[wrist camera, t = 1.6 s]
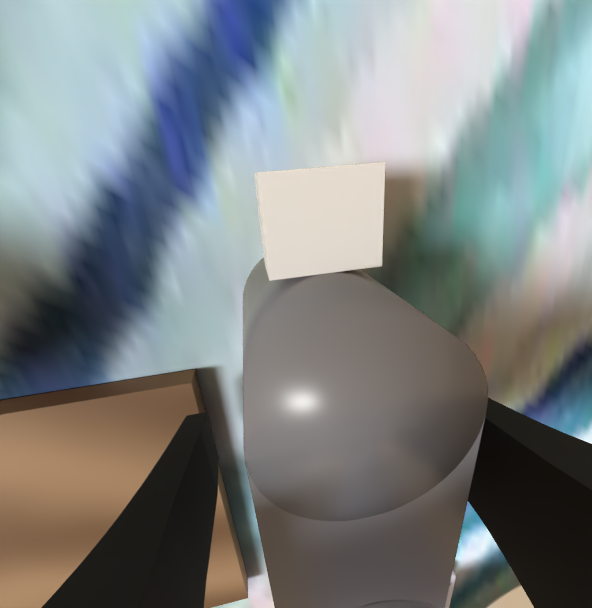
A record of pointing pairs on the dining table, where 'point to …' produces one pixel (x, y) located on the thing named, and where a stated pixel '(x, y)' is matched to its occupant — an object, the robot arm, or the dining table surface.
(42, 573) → the walnut board
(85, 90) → the dining table surface
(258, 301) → the grey rounded piece
